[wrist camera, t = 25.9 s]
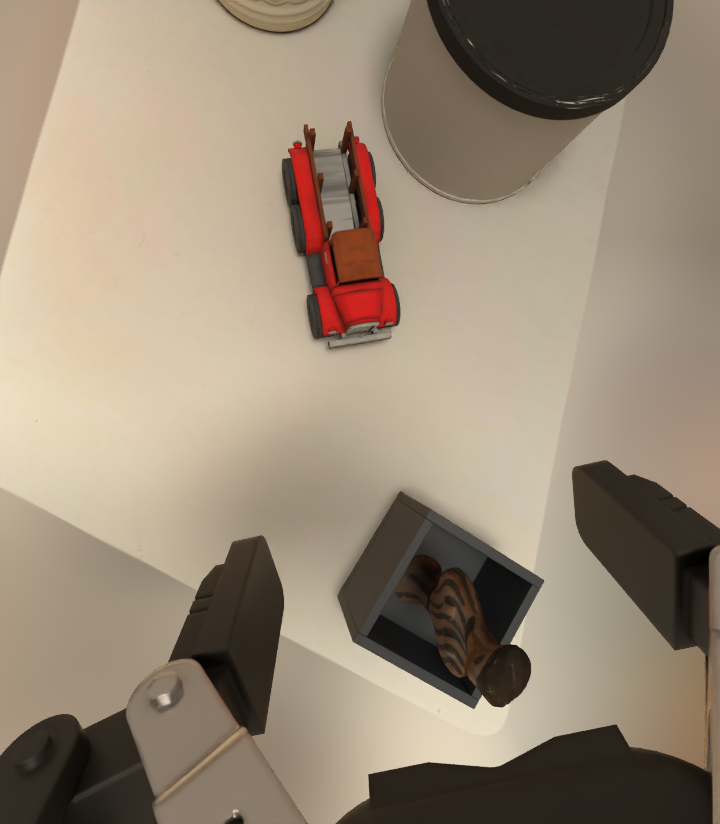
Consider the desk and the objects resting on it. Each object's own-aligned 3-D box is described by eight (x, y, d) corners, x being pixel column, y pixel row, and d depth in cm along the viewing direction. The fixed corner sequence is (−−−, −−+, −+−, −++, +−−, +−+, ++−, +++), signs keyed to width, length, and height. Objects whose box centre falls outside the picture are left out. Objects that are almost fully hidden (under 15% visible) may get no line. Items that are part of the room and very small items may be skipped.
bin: (435, 652, 45) (474, 709, 36) (337, 596, 43) (352, 641, 35) (493, 549, 46) (544, 580, 37) (400, 491, 45) (430, 509, 36)
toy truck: (315, 353, 43) (324, 339, 35) (279, 165, 43) (280, 107, 35) (394, 340, 45) (420, 323, 37) (361, 158, 44) (379, 100, 36)
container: (422, -14, 46) (491, -220, 31) (578, 81, 49) (708, -66, 34) (350, 149, 44) (386, 15, 29) (516, 237, 47) (624, 155, 32)
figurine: (395, 535, 43) (474, 616, 26) (445, 536, 44) (555, 615, 27) (391, 613, 43) (468, 749, 26) (441, 612, 44) (549, 743, 26)
